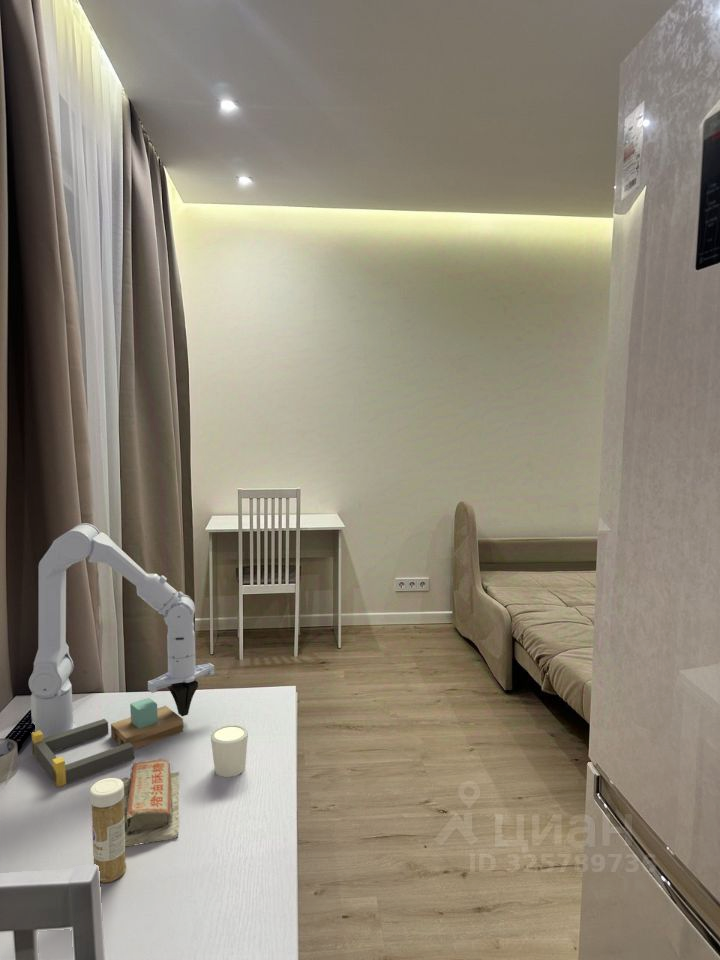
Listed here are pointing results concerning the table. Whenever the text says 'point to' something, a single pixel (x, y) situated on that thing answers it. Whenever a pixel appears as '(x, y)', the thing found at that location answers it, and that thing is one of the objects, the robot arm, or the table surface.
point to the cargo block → (144, 713)
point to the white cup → (229, 750)
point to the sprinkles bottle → (108, 828)
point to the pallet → (147, 729)
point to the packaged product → (151, 803)
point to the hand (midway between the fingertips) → (183, 713)
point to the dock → (82, 767)
